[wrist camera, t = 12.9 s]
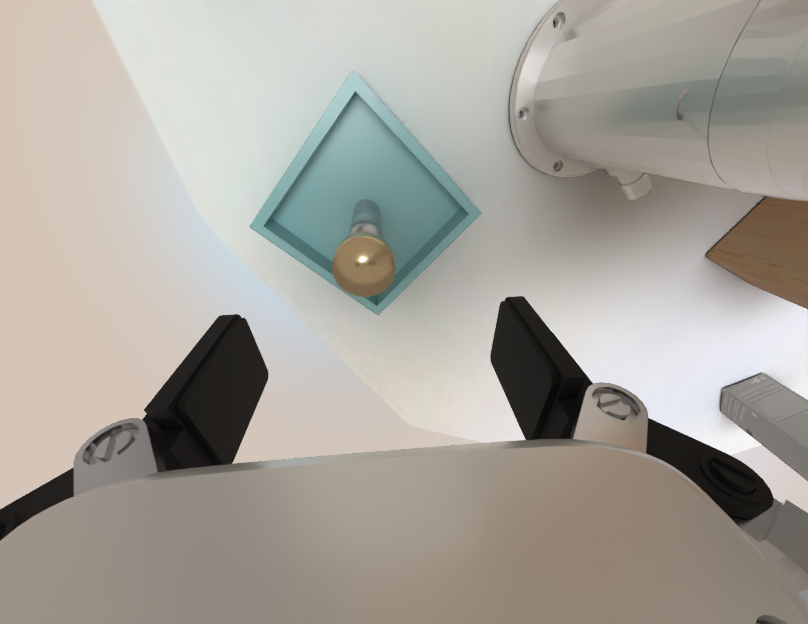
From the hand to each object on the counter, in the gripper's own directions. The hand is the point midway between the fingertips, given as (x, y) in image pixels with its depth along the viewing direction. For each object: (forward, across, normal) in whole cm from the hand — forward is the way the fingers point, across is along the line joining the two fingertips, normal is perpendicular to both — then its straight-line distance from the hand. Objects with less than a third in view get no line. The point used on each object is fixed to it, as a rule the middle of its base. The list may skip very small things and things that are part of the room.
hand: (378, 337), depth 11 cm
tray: (+19, +1, 0) cm, 19 cm away
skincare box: (+21, -60, +34) cm, 72 cm away
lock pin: (+19, +1, 0) cm, 19 cm away
